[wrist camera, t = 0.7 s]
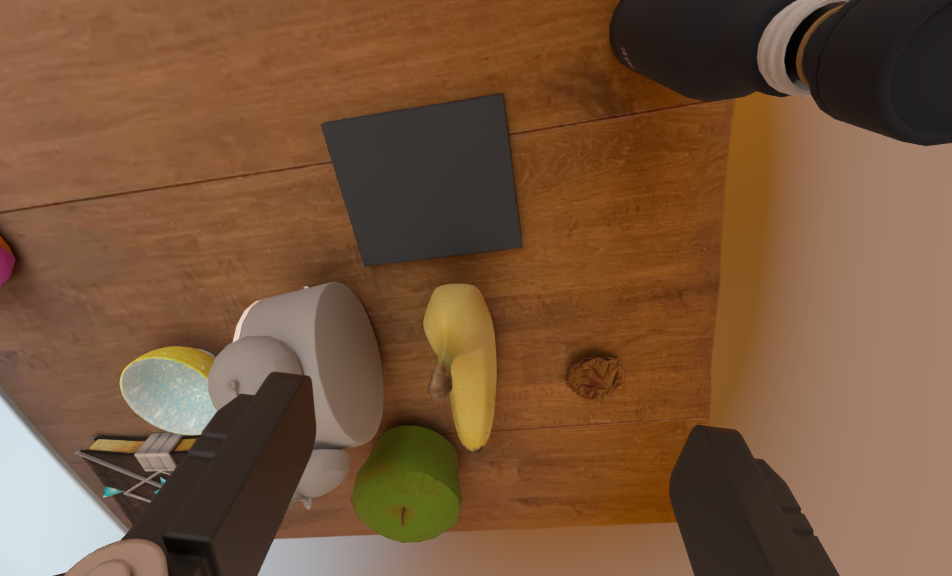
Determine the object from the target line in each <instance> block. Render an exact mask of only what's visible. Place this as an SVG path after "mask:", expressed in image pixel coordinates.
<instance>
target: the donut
mask: <svg viewBox="0 0 952 576" xmlns="http://www.w3.org/2000/svg"><path fill="white" fill-rule="evenodd" d="M14 263H15V258H14V256H13V253H12V251H11V249H10V247H9V246H8V244H7V243H6V242H5V240H4V239H3V238H2V237H1V236H0V286H1V285H3V284H4V283H5V282H6V281H7V280H8V279H9V278H10V276H11V273H12V269H13V267H14Z"/></svg>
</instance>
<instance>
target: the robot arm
mask: <svg viewBox="0 0 952 576" xmlns="http://www.w3.org/2000/svg"><path fill="white" fill-rule="evenodd" d="M315 439H316V417H315V406H314V395H313V385H312V379H311V377H310V376H307V375H299V374H291V373H283V372H271V373H270V374H269V375H268V376H267V377H266V379H265V380H264V382H263V383H262V385H261V386H260V388H259V389H258V391H257V392H256V394H255V395H249V394H240V395H238V396H237V397H236V398H234V399H233V400H232V401H230V402H229V403H227V404H226V405H225V406H223V407H222V408H221V409H219V410H218V411H217V412H216V413H215V415H214V416H213V417H212V419H211V420H210V421H209V423H208V424H207V426H206V427H205V428H204V430H203V431H202V432H201V436H200V437H198V438H197V439H196V441H195V442H194V443H193V445H192V446H191V447H190V449H189V450H188V454H187V456H184V457H183V458H182V460H181V461H180V462H179V464H178V465H177V466H176V468H175V469H174V471H173V472H172V473H171V475H170V476H169V477H168V479H167V480H166V481H165V483H164V484H163V486H162V487H161V488H160V490H159V491H158V492H157V494H156V495H155V496H154V498H153V499H152V501H151V502H150V503H149V505H148V506H147V507H146V509H145V510H144V511H143V513H142V514H141V516H140V517H139V518H138V520H137V521H136V522H135V524H134V525H133V526H132V528H131V529H130V530H129V531H128V533H127V534H126V535H125V536H124V537H123V538H122V539H121V540H120V541H118V542H114V543H112V544H109V545H106V546H104V547H102V548H99V549H97V550H96V551H94V552H92V553H90V554H89V555H87V556H86V557H84V558H83V559H82V560H80V561H79V562H78V563H76V564H75V565H74V566H73V567H72V568H71V569H70V570H69V571H68V572H66V573H63V574H59V575H55V576H257V575H258V573H259V571H260V568H261V566H262V564H263V562H264V560H265V557H266V555H267V553H268V551H269V548H270V546H271V544H272V542H273V540H274V537H275V535H276V533H277V531H278V528H279V526H280V524H281V522H282V520H283V517H284V515H285V513H286V511H287V508H288V506H289V504H290V502H291V500H292V497H293V495H294V493H295V491H296V488H297V486H298V484H299V482H300V480H301V477H302V475H303V473H304V471H305V468H306V466H307V464H308V462H309V460H310V457H311V455H312V452H313V448H314V444H315ZM669 490H670V499H671V504H672V507H673V510H674V513H675V516H676V520H677V523H678V526H679V529H680V532H681V535H682V538H683V541H684V544H685V548H686V550H687V554H688V557H689V560H690V563H691V566H692V569H693V572H694V575H695V576H839V574H838V572H837V570H836V569H835V567H834V565H833V563H832V562H831V560H830V558H829V557H828V555H827V553H826V552H825V550H824V548H823V546H822V544H821V543H820V541H819V539H818V537H817V536H814V534H813V529H812V527H811V525H810V524H809V522H808V520H807V518H806V517H805V515H804V514H801V511H800V510H801V508H800V506H799V504H798V503H797V501H796V499H795V498H794V496H793V494H792V492H791V491H790V489H789V487H788V485H787V484H786V482H785V481H784V480H783V479H782V478H780V476H779V475H778V474H777V473H776V472H775V471H774V470H773V469H772V468H771V467H770V466H769V465H768V464H767V463H766V462H765V461H764V460H762V459H755V458H754V457H753V455H752V454H751V452H750V450H749V448H748V446H747V444H746V443H745V441H744V439H743V437H742V435H741V434H740V433H739V432H738V431H736V430H734V429H725V428H717V427H710V426H702V425H697V426H695V427H694V428H693V429H692V431H691V432H690V435H689V437H688V439H687V441H686V443H685V445H684V447H683V449H682V452H681V454H680V456H679V458H678V460H677V462H676V464H675V467H674V469H673V471H672V473H671V477H670V487H669Z"/></svg>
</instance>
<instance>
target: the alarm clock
mask: <svg viewBox="0 0 952 576" xmlns="http://www.w3.org/2000/svg"><path fill="white" fill-rule="evenodd" d="M271 372H283V373H291V374H299V375H307V376H310V377H311V379H312V385H313V395H314V406H315V417H316V439H315V444H314V448H313V452H312V455H311V457H310V460H309V462H308V464H307V466H306V468H305V471H304V473H303V475H302V477H301V480H300V482H299V484H298V486H297V488H296V491H295V493H294V495H293V497H292V500H291V502H290V504H289V506H288V508H291V507H292V506H293V505H294V503H295V502H298V501H299V502H304V506H305V507H306V509H307V510H309V509H311V507H312V505H313V498H317V497H319V496H322V495H324V494H327V493H328V492H330V491H332V490H333V489H335V488H336V487H337V486H338V485H339V484H340V483H341V482H342V481H343V480H344V478H345V477H346V476H347V474H348V471H349V467H350V453H349V452H347V451H344V450H340V449H345V448H350V447H354V446H359V445H363V444H365V443H367V442H369V441H371V440H372V439H373V437H374V436H375V434H376V433H377V431H378V429H379V425H380V422H381V419H382V412H383V405H384V381H383V370H382V364H381V358H380V353H379V348H378V344H377V341H376V337H375V333H374V331H373V328H372V325H371V323H370V320H369V317H368V315H367V313H366V311H365V310H364V308H363V306H362V304H361V302H360V301H359V299H358V298H357V296H356V295H355V294H354V292H353V291H352V290H350V289H349V288H348V287H347V286H346V285H345V284H342V283H339V282H335V281H334V282H330V283H326V284H322V285H318V286H314V287H310V288H309V287H308V286H305V287H304V289H301V290H297V291H293V292H289V293H285V294H281V295H277V296H273V297H269V298H265V299H261V300H258V301H255V302H254V303H253V304H252V305H251V306H249V307H248V308H247V309H246V310H245V311H244V313H243V315H242V317H241V318H240V320H239V322H238V324H237V326H236V330H235V335H234V339H233V343H231V344H229V345H227V346H226V347H225V348H224V349H223V350H222V351H221V352H220V353H219V354H218V355H217V357H216V358H215V359H214V361H213V364H212V367H211V369H210V372H209V374H208V392H209V395H210V398H211V400H212V403H213V406H214V408H215V409H216V410H217V411H218V410H219V409H221V408H222V407H223V406H225V405H226V404H227V403H229V402H230V401H232V400H233V399H234V398H236V397H237V396H238V395H240V394H249V395H255V394H256V392H257V391H258V389H259V388H260V386H261V385H262V383H263V382H264V380H265V379H266V377H267V376H268V375H269V374H270V373H271ZM288 508H287V509H288Z"/></svg>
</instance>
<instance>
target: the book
mask: <svg viewBox="0 0 952 576" xmlns="http://www.w3.org/2000/svg"><path fill="white" fill-rule="evenodd" d="M200 436H201V435H198V436H186V435H181V434H176V433H152V434H151V435H150V436H149V438H124V437H103V436H100V435H98V434H95V435H94V436H93V437H92V438H91V440H95V443H94V444H93V445H92V446H91V447H90V448H89V449H87V450H82V448H79V449H78V450H77V451H76V452H75V454H76V455H79V456H81V457H83V459H84V460H85V461H86V462H87V464H88V465H89V466H90V467H91V468H92V470H93V471H94V472H95V473H96V475H97V476H98V477H99V479H100V480H101V482H102V483H103V484H104V486H105V489H104V495H103V497H108V496H112V497H113V498H114V500H115V501H116V502H117V504H118V505H119V507H120V508H121V510H122V512H123V513H124V515H125V517H126V518H127V520H128V521H129V523H130V525H131V526H133V525H134V524H135V522H136V521H137V520H138V518H139V517H140V516H141V514H142V513H143V511H144V510H145V509H146V507H147V506H148V505H149V503H150V502H151V501H152V499H153V498H154V496H155V495H156V494H157V492H158V491H159V490H160V488H161V487H162V486H163V484H164V483H165V481H166V480H167V479H168V477H169V476H170V475H171V473H172V472H173V471H174V469H175V468H176V466H177V465H178V464H179V462H180V461H181V460H182V458H183V457H184V456H187V454H188V450H189V449H190V447H191V446H192V445H193V443H194V442H195V441H196V439H197V438H198V437H200ZM131 528H132V527H131ZM131 528H130V529H131Z"/></svg>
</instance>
